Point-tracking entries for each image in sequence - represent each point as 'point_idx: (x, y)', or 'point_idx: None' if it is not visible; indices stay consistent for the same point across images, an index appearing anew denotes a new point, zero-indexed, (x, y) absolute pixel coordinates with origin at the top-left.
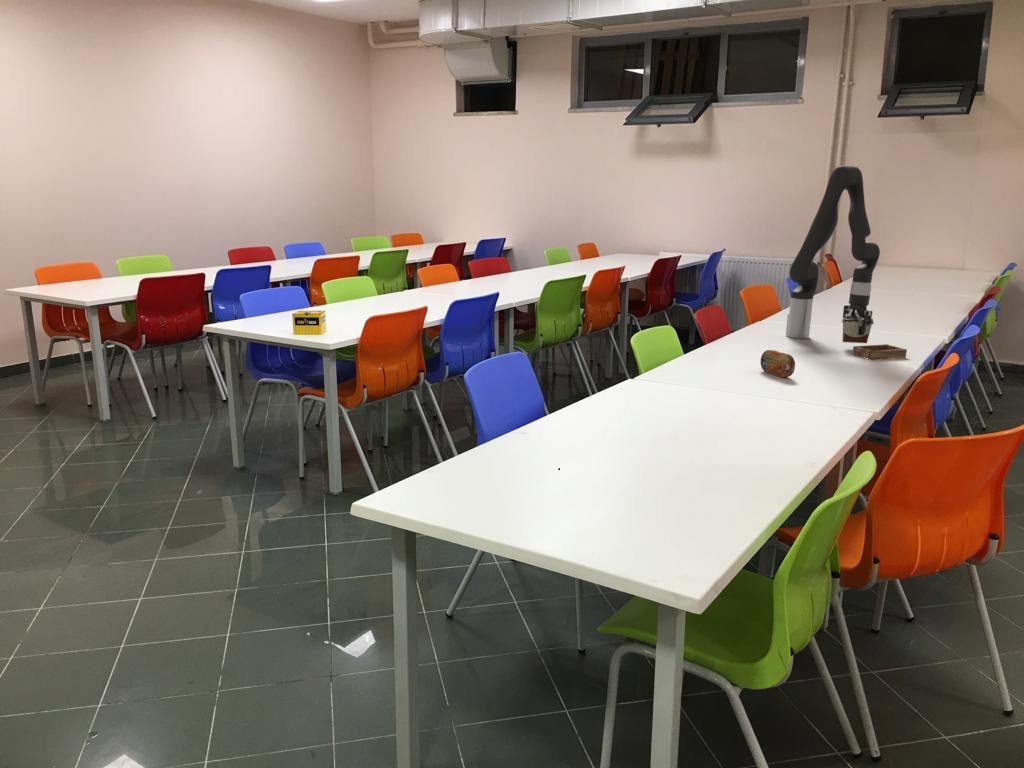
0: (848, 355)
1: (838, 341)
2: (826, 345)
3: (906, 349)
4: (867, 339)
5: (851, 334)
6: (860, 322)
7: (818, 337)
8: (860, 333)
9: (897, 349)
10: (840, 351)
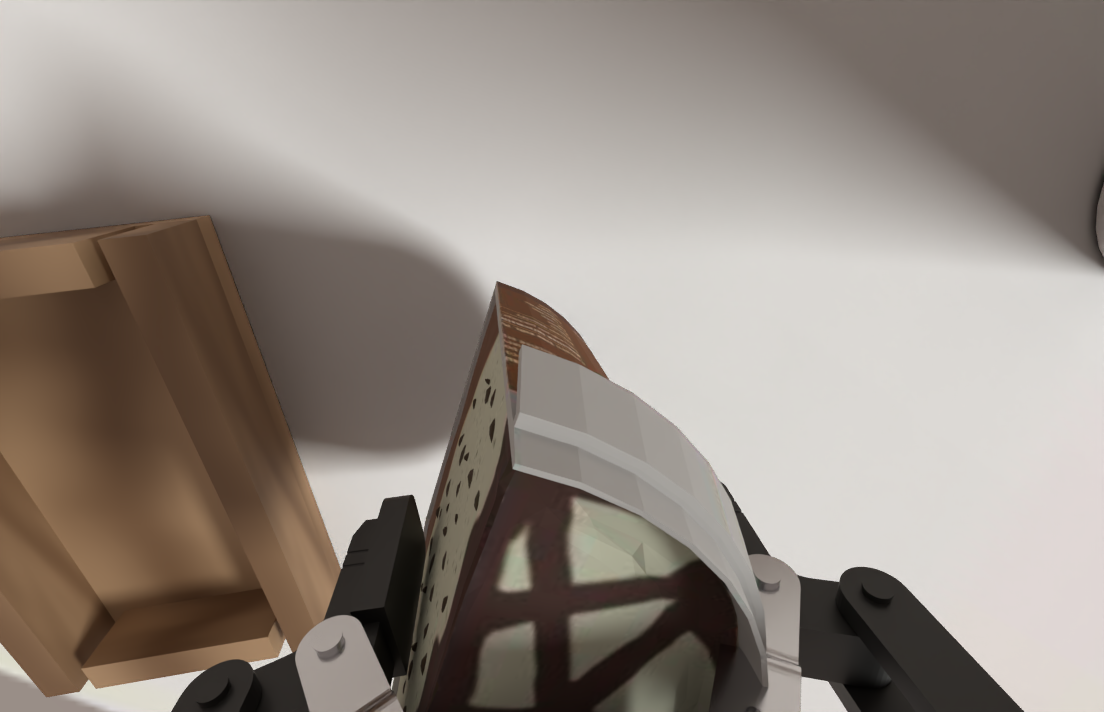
0: (151, 130)
1: (843, 441)
2: (742, 218)
3: (44, 694)
4: None
5: (469, 423)
6: (340, 685)
7: (1054, 363)
8: (379, 522)
9: (20, 629)
10: (408, 179)
